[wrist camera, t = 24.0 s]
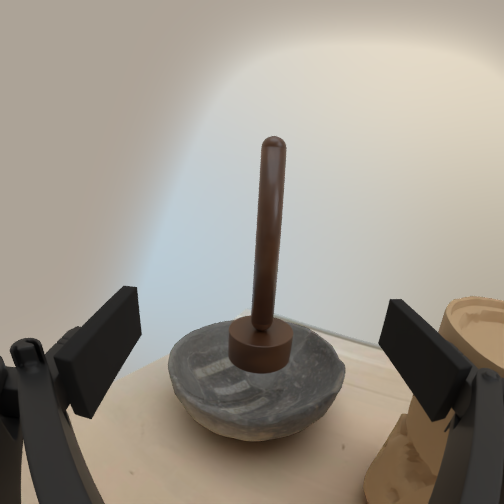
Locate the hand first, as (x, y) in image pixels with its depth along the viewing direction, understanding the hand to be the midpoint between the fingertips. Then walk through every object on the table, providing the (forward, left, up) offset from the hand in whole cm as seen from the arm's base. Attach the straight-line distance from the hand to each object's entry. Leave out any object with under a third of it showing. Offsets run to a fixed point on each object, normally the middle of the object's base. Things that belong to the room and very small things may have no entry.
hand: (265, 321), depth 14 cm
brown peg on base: (-2, +11, -10) cm, 15 cm away
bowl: (-2, +11, -18) cm, 21 cm away
